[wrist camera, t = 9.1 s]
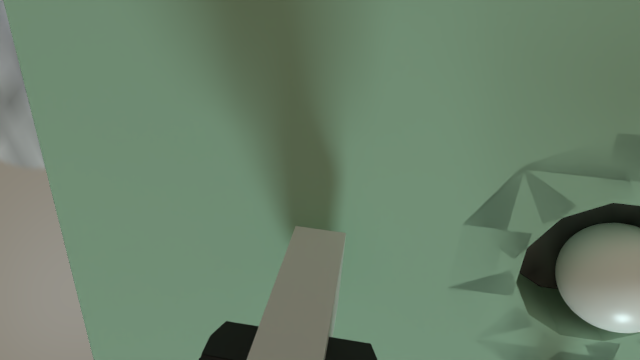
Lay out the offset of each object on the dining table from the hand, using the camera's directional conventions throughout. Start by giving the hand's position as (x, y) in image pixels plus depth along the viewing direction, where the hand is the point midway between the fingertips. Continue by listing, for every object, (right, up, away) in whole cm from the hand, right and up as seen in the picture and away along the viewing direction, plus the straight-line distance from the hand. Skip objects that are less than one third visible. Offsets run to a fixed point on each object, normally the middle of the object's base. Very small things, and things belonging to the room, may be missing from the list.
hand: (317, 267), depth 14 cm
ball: (+9, 0, +1) cm, 9 cm away
